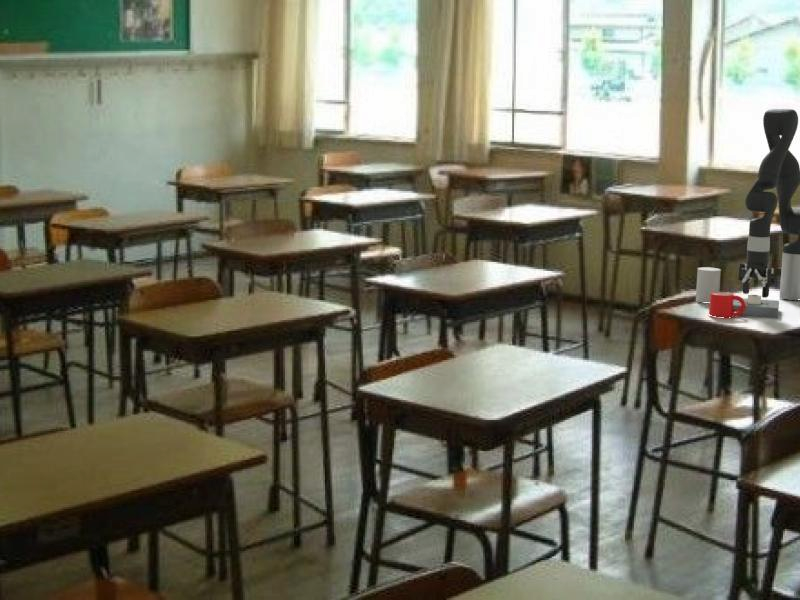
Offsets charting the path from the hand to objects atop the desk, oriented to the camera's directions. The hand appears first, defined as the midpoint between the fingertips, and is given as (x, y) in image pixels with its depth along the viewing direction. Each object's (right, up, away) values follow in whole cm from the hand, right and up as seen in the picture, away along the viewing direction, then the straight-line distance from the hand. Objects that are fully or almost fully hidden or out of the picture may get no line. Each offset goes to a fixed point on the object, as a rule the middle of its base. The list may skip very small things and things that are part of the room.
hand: (755, 295), depth 454 cm
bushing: (0, -6, +1) cm, 6 cm away
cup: (-12, -2, +22) cm, 25 cm away
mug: (-12, -8, -7) cm, 16 cm away
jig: (0, -6, +1) cm, 6 cm away
